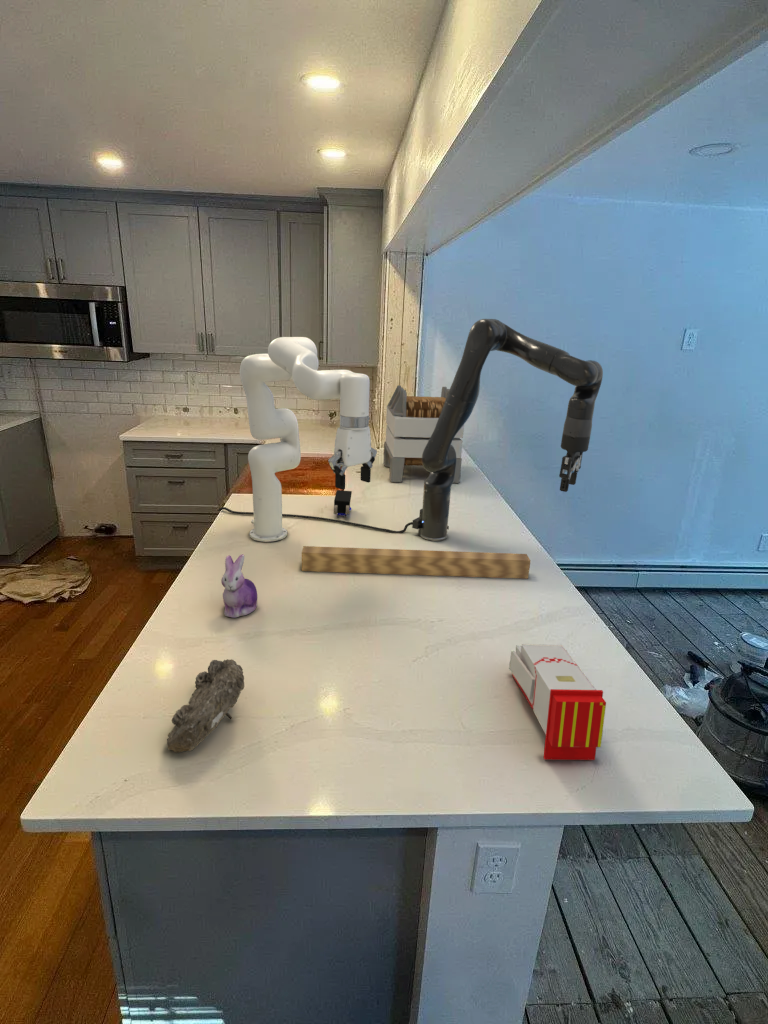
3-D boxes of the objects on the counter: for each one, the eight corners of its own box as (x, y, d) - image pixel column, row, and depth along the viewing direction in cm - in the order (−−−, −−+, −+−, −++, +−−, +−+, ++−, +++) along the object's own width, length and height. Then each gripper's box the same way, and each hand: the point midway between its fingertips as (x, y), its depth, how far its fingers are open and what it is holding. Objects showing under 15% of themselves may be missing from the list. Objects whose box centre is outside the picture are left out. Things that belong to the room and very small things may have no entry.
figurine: (226, 622, 140) (223, 567, 134) (217, 603, 148) (214, 551, 143) (264, 615, 144) (262, 561, 139) (253, 597, 152) (251, 545, 147)
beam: (524, 571, 175) (526, 553, 173) (528, 578, 170) (530, 560, 168) (303, 564, 173) (303, 545, 171) (301, 571, 169) (301, 552, 167)
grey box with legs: (382, 463, 289) (386, 382, 275) (445, 464, 293) (451, 384, 279) (390, 482, 257) (394, 392, 243) (460, 483, 261) (468, 394, 247)
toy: (558, 627, 126) (616, 698, 97) (552, 682, 129) (607, 767, 99) (504, 626, 126) (545, 697, 96) (499, 681, 128) (538, 766, 99)
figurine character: (350, 524, 210) (352, 506, 224) (350, 505, 207) (352, 488, 220) (332, 523, 210) (335, 505, 224) (332, 505, 207) (335, 488, 220)
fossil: (192, 660, 117) (244, 628, 112) (224, 691, 120) (276, 661, 115) (142, 746, 98) (202, 712, 93) (182, 779, 101) (242, 748, 96)
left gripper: (366, 416, 156) (364, 476, 162) (319, 423, 144) (319, 488, 150) (386, 420, 152) (384, 481, 157) (340, 428, 139) (339, 494, 145)
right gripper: (569, 427, 168) (561, 479, 174) (556, 435, 157) (547, 490, 162) (595, 431, 164) (586, 484, 170) (584, 439, 153) (574, 496, 159)
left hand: (353, 484), depth 154 cm, fingers open, 9 cm apart
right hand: (567, 487), depth 166 cm, fingers open, 8 cm apart
